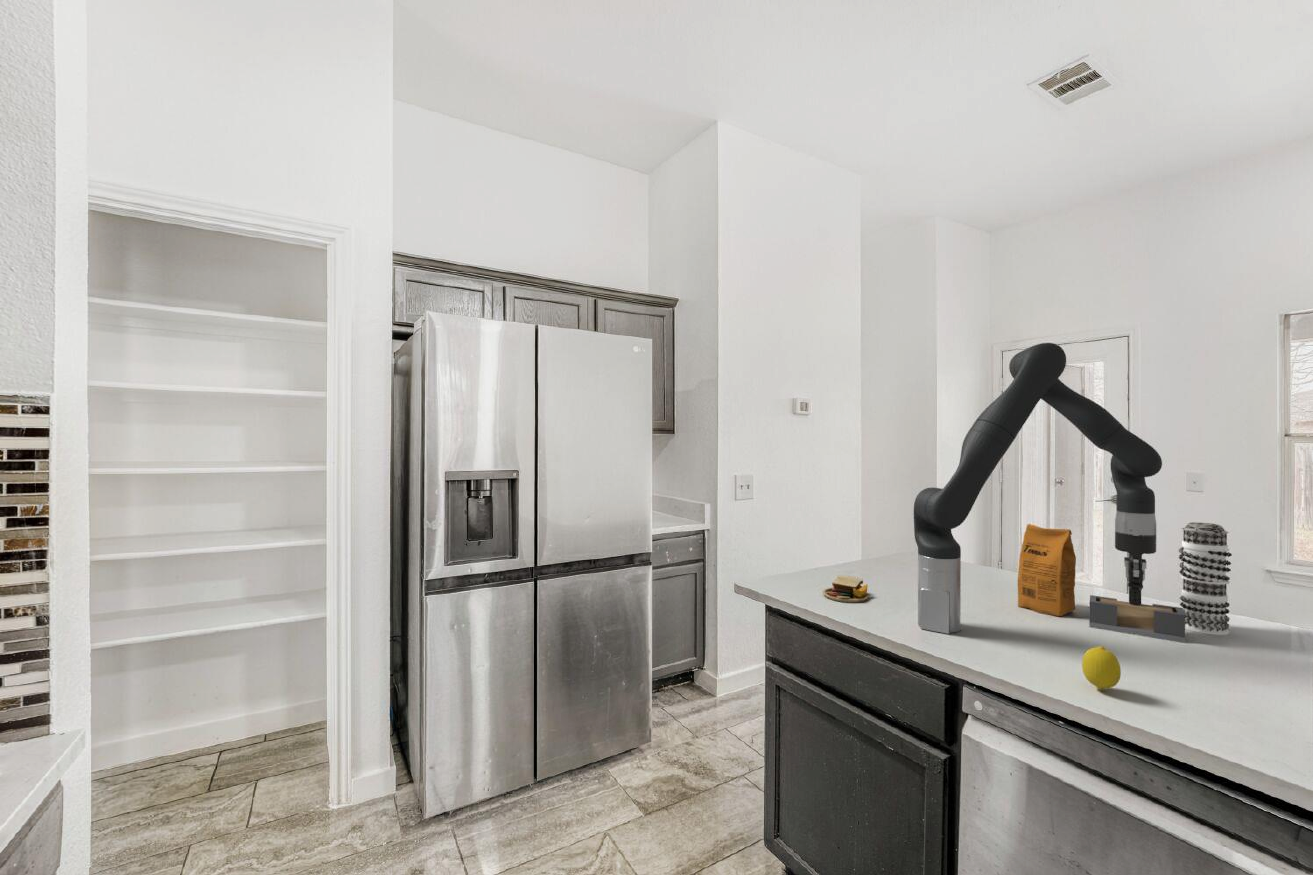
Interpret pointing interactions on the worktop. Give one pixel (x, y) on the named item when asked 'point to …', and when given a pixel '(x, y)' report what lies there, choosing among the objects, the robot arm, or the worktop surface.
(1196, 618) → the decorative candle
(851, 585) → the toy sandwich meal
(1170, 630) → the rail
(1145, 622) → the slat
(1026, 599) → the coffee package
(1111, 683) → the lemon
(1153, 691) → the worktop surface
